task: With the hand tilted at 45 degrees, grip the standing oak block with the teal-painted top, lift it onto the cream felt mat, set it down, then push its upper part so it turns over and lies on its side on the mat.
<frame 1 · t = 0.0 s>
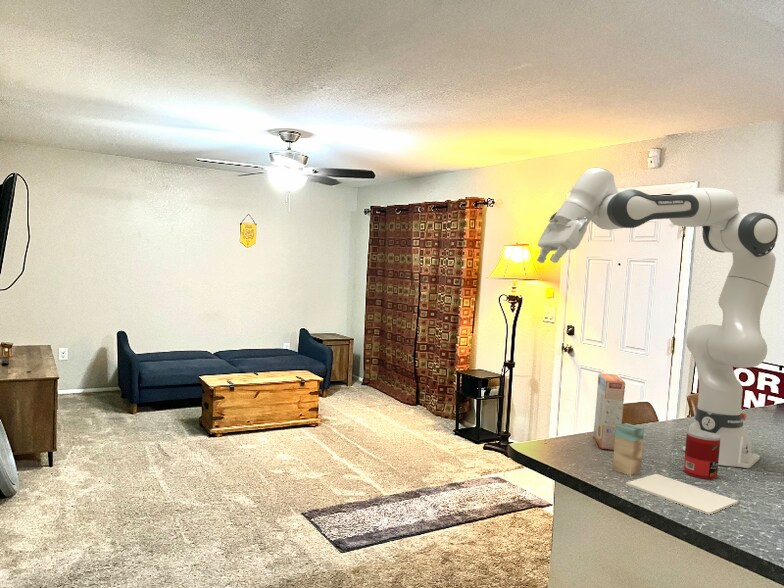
hand: (546, 261, 161), 54 cm above the breakfast bar, tool tilted 30°, fingers open, 8 cm apart
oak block: (626, 471, 154), on the breakfast bar
felt mat: (680, 493, 139), on the breakfast bar
canned food: (700, 475, 155), on the breakfast bar
cracker box: (606, 444, 179), on the breakfast bar
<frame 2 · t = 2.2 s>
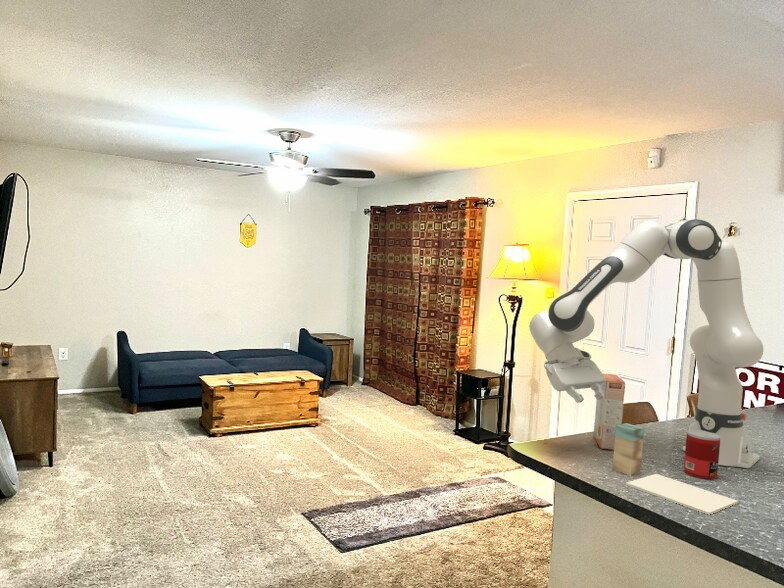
hand: (591, 400, 163), 16 cm above the breakfast bar, tool tilted 45°, fingers open, 8 cm apart
nothing on the breakfast bar moved.
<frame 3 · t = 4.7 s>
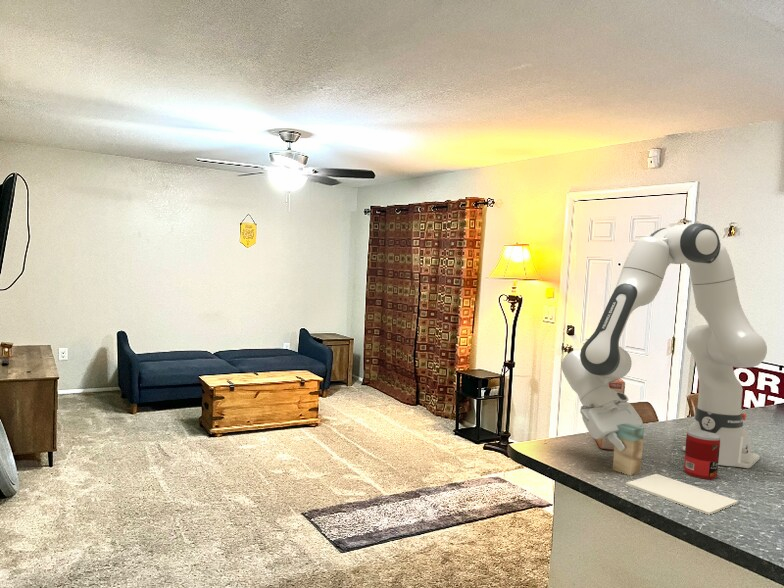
hand: (630, 448, 153), 6 cm above the breakfast bar, tool tilted 45°, fingers closed on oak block, 5 cm apart
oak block: (626, 471, 154), on the breakfast bar, touching gripper
everything else where it was.
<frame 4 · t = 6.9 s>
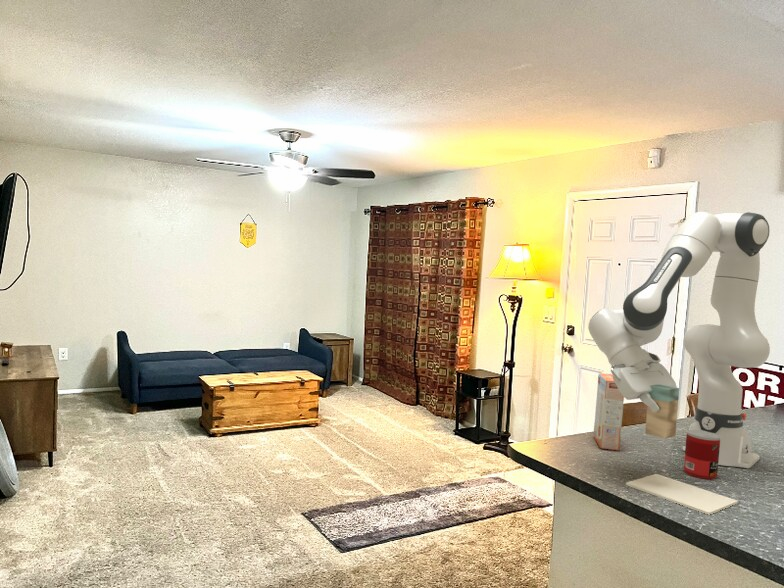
hand: (664, 409, 143), 19 cm above the breakfast bar, tool tilted 45°, fingers closed on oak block, 5 cm apart
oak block: (660, 434, 144), point 13 cm above the breakfast bar, touching gripper
everything else where it was.
when the fingers open (8 cm above the breakfast bar, at t = 9.3 s): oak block drops 1 cm, resting on felt mat.
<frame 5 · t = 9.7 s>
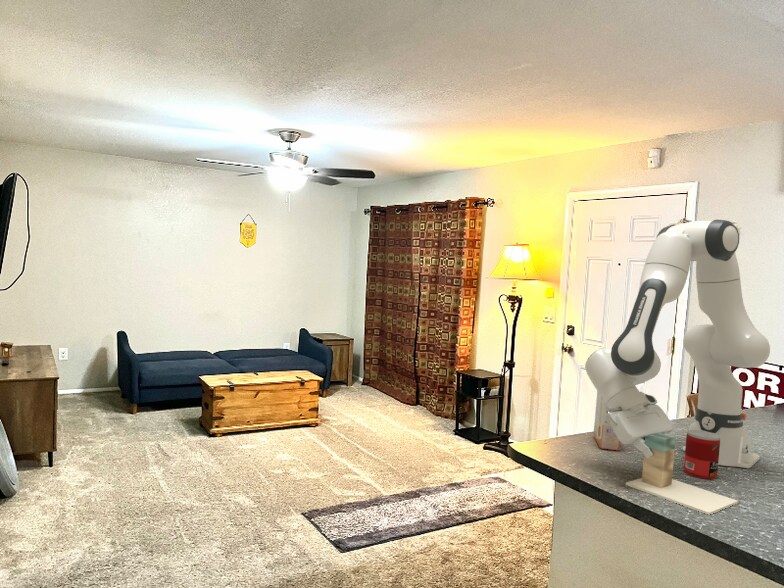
hand: (661, 453, 143), 8 cm above the breakfast bar, tool tilted 45°, fingers open, 8 cm apart
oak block: (656, 483, 144), point 1 cm above the breakfast bar, touching felt mat
everything else where it was.
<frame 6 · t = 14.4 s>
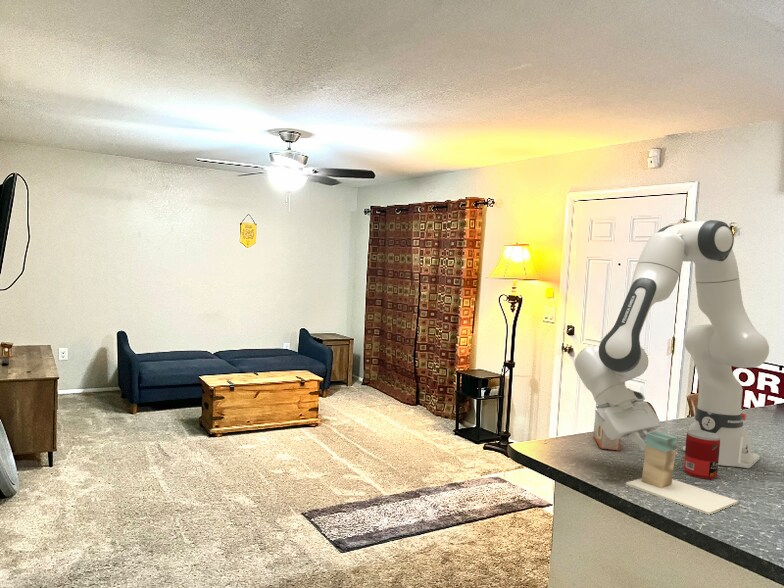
hand: (648, 449, 146), 8 cm above the breakfast bar, tool tilted 45°, fingers closed
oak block: (656, 482, 144), point 1 cm above the breakfast bar, touching felt mat, gripper
everything else where it was.
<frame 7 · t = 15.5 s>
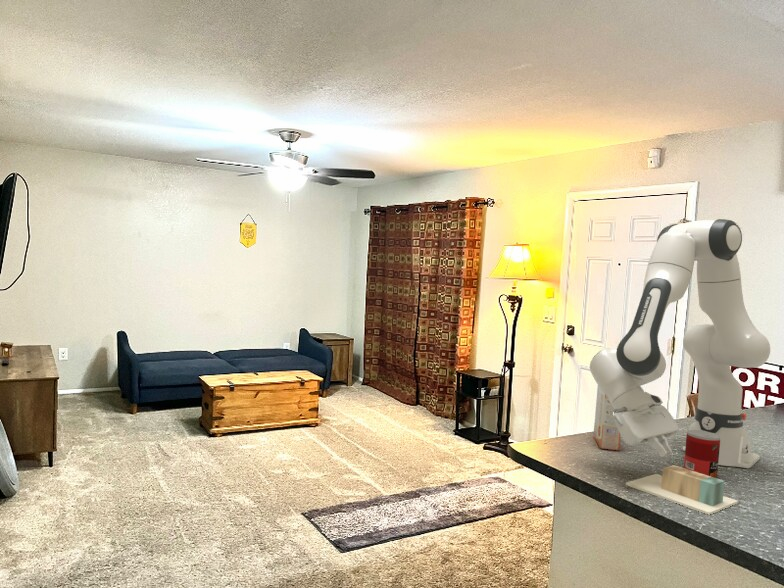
hand: (667, 454, 142), 8 cm above the breakfast bar, tool tilted 45°, fingers closed
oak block: (667, 476, 142), point 3 cm above the breakfast bar, tilted 90°, touching felt mat
everything else where it was.
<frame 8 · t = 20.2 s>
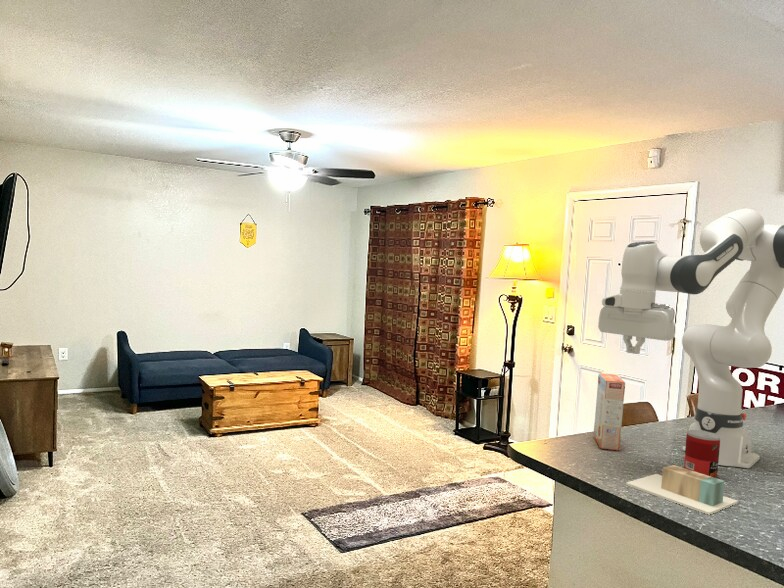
hand: (632, 353, 156), 31 cm above the breakfast bar, tool pointing down, fingers closed
nothing on the breakfast bar moved.
at the end: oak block tilted 90°; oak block inside the target area on the felt mat (4.5 cm from its centre), point 3.1 cm above the felt mat's base; the gripper is holding nothing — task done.
